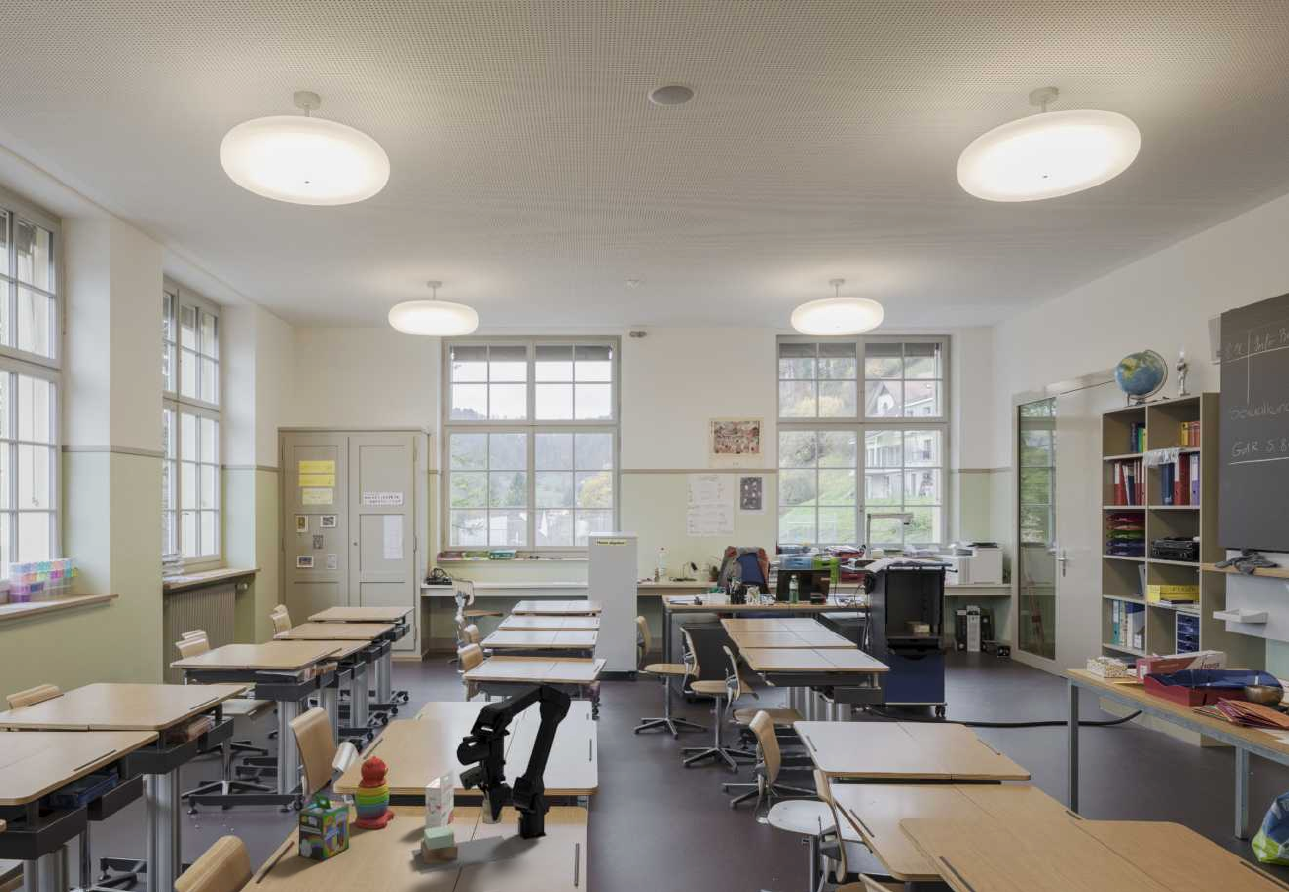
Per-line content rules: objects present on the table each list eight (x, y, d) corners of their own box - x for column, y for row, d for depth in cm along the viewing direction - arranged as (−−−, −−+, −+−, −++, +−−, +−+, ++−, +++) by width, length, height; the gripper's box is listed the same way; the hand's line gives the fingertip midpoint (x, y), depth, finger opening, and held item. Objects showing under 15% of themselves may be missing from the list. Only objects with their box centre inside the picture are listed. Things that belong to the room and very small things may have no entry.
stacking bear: (384, 829, 230) (385, 764, 231) (348, 829, 230) (349, 764, 231) (396, 814, 240) (397, 752, 242) (362, 814, 241) (363, 752, 242)
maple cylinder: (499, 815, 217) (499, 796, 217) (503, 822, 212) (504, 802, 213) (480, 818, 215) (480, 799, 215) (484, 825, 210) (485, 805, 211)
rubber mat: (501, 836, 224) (501, 835, 224) (516, 858, 210) (516, 856, 210) (411, 852, 214) (411, 850, 214) (420, 875, 201) (420, 874, 201)
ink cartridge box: (437, 818, 238) (438, 766, 239) (453, 819, 237) (454, 767, 238) (424, 829, 229) (425, 775, 230) (440, 831, 228) (441, 777, 229)
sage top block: (449, 836, 216) (449, 825, 216) (454, 846, 210) (454, 834, 210) (424, 841, 213) (424, 829, 213) (428, 850, 207) (428, 838, 207)
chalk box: (349, 848, 217) (351, 791, 218) (323, 862, 209) (324, 802, 210) (324, 842, 221) (325, 786, 222) (296, 855, 213) (298, 797, 214)
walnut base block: (451, 847, 217) (451, 835, 217) (457, 858, 209) (457, 846, 210) (420, 852, 213) (420, 840, 214) (425, 864, 206) (425, 852, 206)
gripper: (455, 750, 220) (454, 809, 219) (469, 770, 203) (469, 835, 202) (495, 745, 224) (495, 803, 223) (513, 764, 207) (513, 828, 206)
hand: (492, 817), depth 214 cm, fingers closed on maple cylinder, 5 cm apart
